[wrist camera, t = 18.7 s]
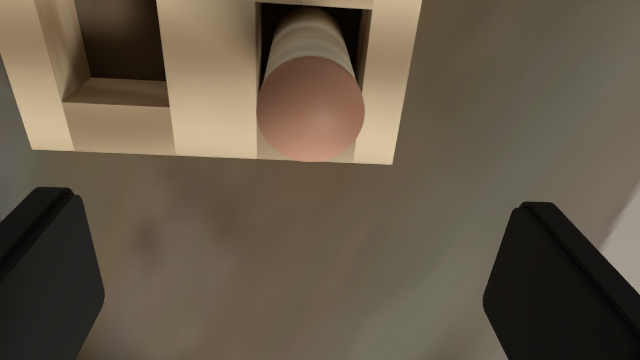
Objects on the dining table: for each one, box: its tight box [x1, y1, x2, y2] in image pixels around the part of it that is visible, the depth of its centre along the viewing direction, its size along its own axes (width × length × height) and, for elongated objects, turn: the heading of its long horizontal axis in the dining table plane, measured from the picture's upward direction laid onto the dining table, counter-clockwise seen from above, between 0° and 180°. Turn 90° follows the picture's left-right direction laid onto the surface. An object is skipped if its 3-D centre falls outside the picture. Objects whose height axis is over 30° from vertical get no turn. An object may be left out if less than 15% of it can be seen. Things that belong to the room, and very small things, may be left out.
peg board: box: [0, 0, 422, 164], centre depth 18 cm, size 9×16×3 cm, turn 86°
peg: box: [256, 6, 365, 162], centre depth 17 cm, size 3×3×8 cm
